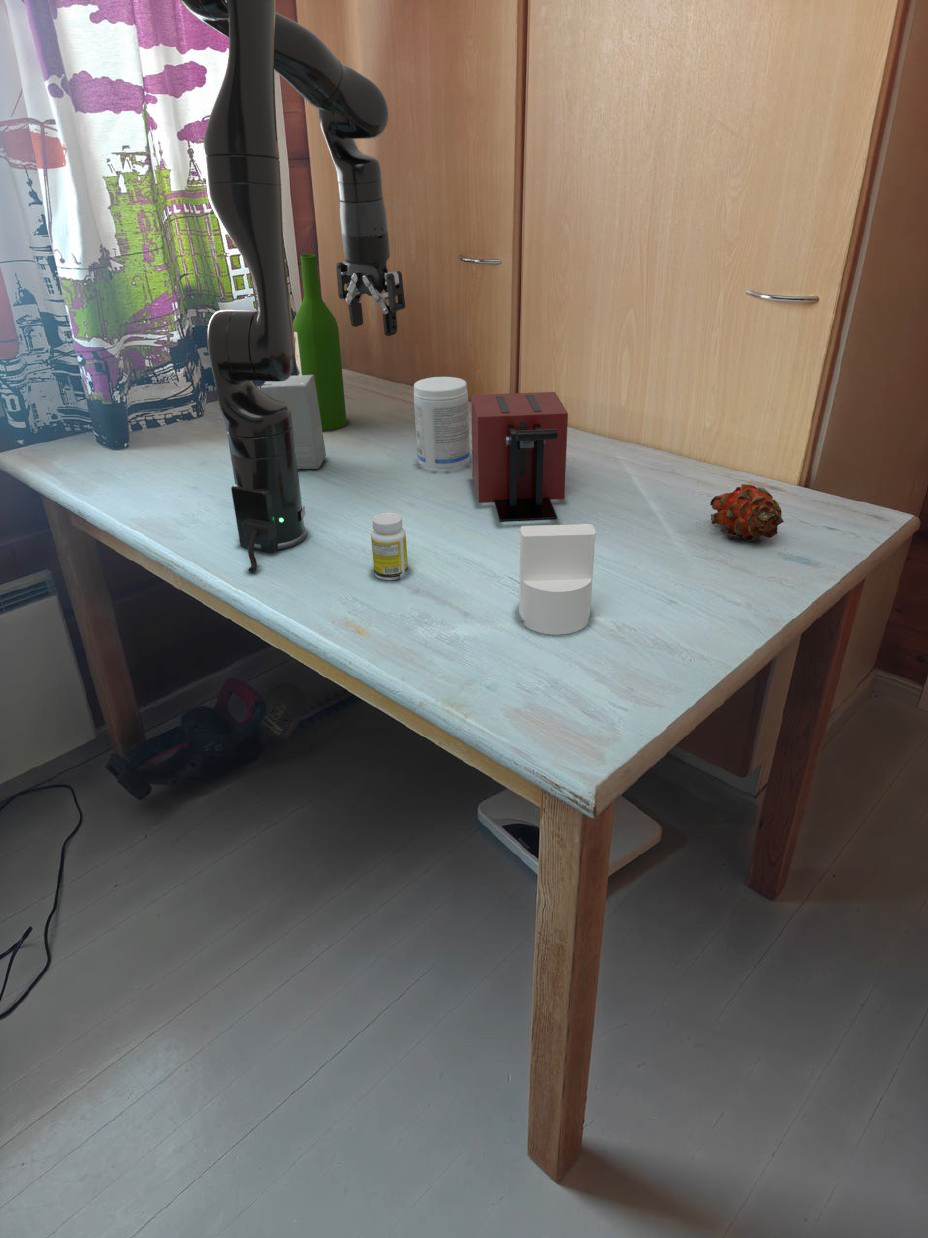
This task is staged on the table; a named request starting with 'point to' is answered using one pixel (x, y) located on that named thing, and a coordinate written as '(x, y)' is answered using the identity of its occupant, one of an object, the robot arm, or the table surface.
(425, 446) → the supplement tub
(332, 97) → the robot arm
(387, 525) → the supplement bottle
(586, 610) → the cylinder with rectangular tab
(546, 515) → the lever bracket
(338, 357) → the wine bottle
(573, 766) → the table surface
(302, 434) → the cosmetic box
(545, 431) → the lever
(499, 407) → the toaster
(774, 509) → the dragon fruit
